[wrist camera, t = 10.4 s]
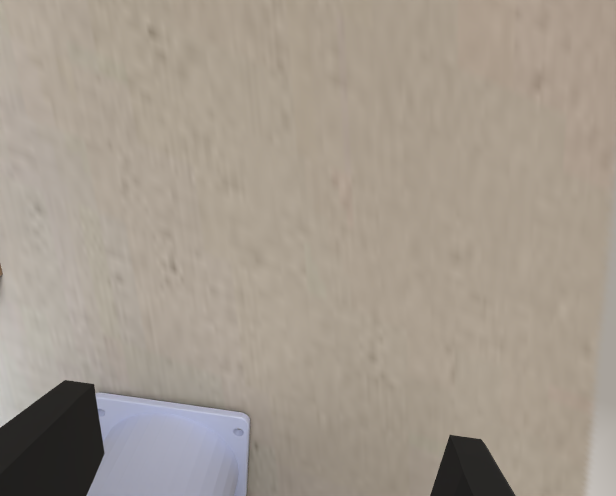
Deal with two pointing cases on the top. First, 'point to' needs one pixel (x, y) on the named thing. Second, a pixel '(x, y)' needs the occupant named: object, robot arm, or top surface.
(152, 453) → the robot arm
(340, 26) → the top surface
